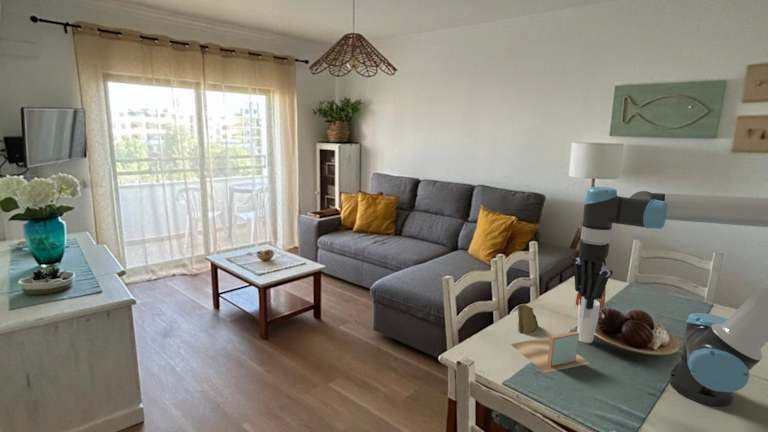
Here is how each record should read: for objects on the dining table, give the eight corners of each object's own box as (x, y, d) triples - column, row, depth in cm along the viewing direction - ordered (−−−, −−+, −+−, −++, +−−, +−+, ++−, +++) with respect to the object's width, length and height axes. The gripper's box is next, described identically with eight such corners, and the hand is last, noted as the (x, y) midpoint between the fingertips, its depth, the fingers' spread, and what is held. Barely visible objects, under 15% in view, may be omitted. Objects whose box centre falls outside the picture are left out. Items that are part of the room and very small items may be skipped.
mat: (590, 364, 134) (590, 363, 134) (544, 374, 129) (544, 372, 129) (552, 337, 151) (552, 336, 151) (509, 345, 145) (510, 343, 145)
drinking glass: (573, 342, 148) (578, 303, 145) (575, 334, 154) (579, 296, 151) (594, 347, 145) (600, 307, 142) (595, 338, 151) (600, 300, 148)
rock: (532, 314, 164) (509, 313, 162) (543, 304, 158) (520, 303, 155) (541, 340, 157) (517, 340, 155) (553, 330, 151) (529, 330, 148)
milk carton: (573, 305, 178) (578, 261, 174) (588, 302, 182) (594, 258, 178) (591, 314, 170) (598, 268, 166) (607, 310, 174) (613, 265, 170)
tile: (575, 361, 135) (579, 333, 133) (550, 366, 132) (553, 338, 130) (572, 359, 136) (575, 331, 134) (547, 364, 133) (550, 335, 131)
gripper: (624, 246, 114) (612, 325, 119) (587, 234, 126) (578, 306, 131) (602, 248, 111) (591, 329, 116) (567, 236, 123) (558, 309, 128)
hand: (584, 317), depth 124 cm, fingers closed
